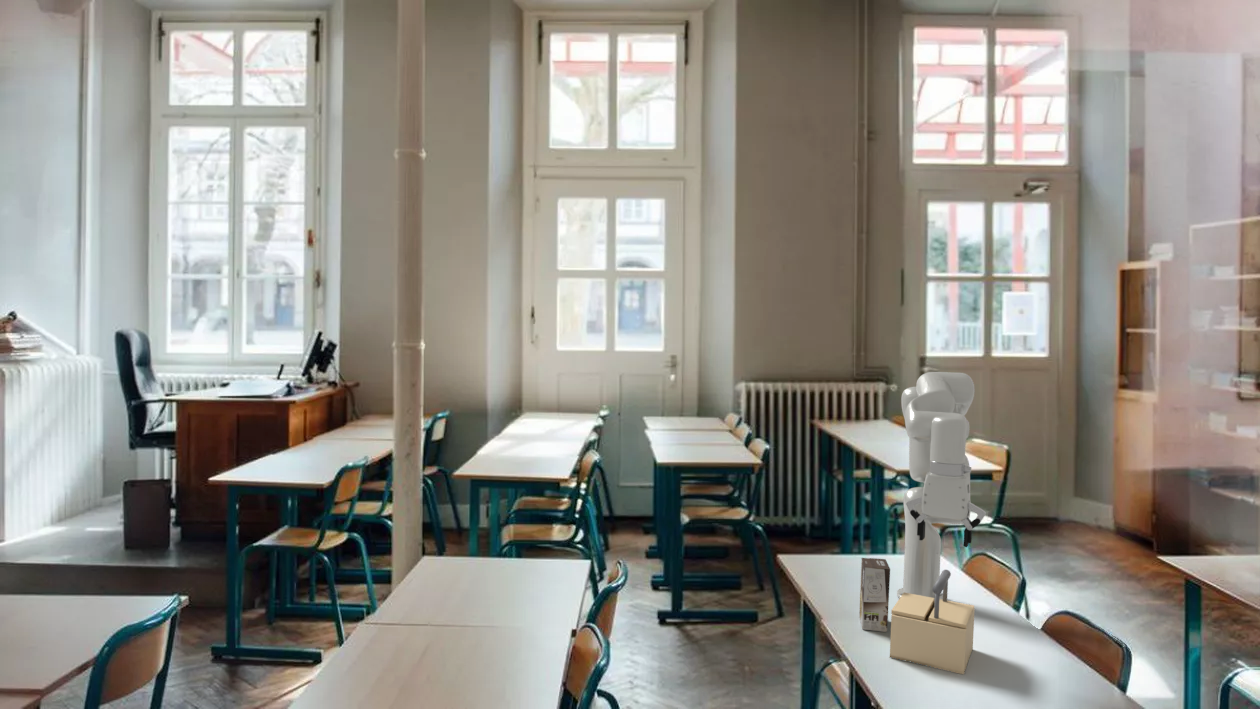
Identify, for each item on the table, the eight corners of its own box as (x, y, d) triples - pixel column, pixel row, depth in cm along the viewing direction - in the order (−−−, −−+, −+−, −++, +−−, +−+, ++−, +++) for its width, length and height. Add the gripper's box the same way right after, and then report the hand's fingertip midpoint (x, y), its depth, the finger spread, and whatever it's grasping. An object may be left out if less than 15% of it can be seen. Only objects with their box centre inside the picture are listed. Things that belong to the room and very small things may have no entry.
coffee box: (888, 632, 199) (890, 569, 198) (861, 630, 200) (864, 567, 199) (884, 619, 208) (886, 558, 207) (858, 616, 209) (861, 556, 208)
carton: (902, 634, 198) (904, 591, 197) (972, 649, 190) (974, 604, 189) (888, 657, 184) (890, 611, 183) (963, 674, 176) (966, 626, 175)
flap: (974, 608, 189) (975, 574, 188) (966, 628, 176) (968, 591, 176) (938, 602, 193) (940, 568, 192) (928, 621, 180) (930, 584, 180)
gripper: (989, 471, 183) (985, 544, 183) (911, 463, 191) (908, 533, 192) (985, 476, 176) (982, 552, 177) (905, 467, 185) (902, 540, 186)
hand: (943, 542), depth 185 cm, fingers open, 9 cm apart
